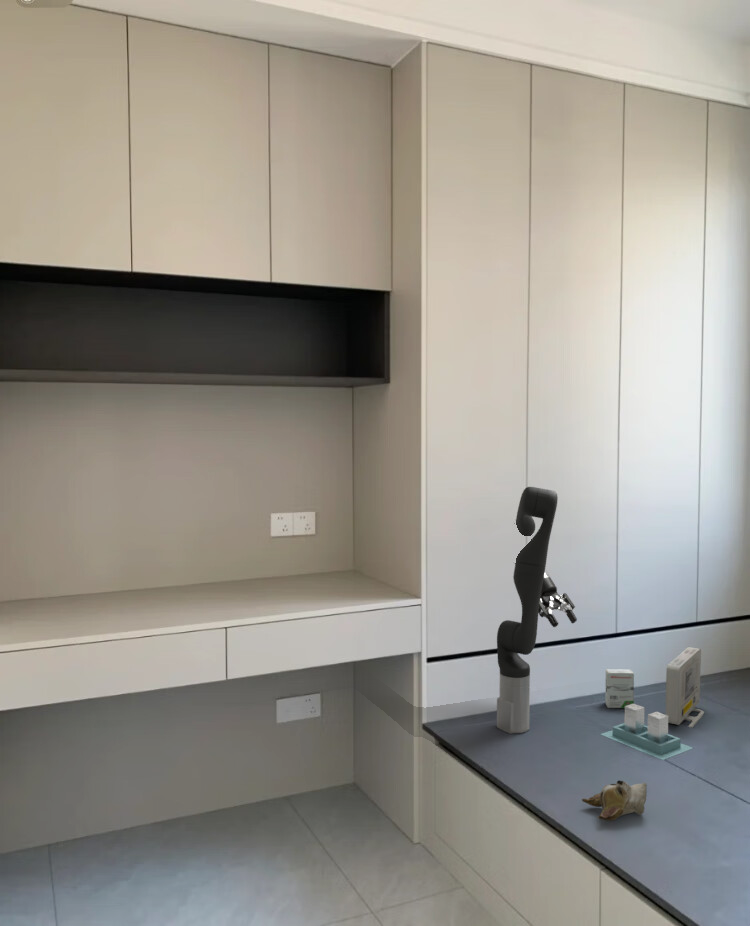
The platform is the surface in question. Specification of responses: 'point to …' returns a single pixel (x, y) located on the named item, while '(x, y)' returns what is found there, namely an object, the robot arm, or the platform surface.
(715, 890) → the platform surface
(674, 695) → the network device
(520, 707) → the robot arm
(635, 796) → the ceramic sculpture
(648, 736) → the block
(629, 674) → the ink box
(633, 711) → the block
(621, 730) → the teal flat tray
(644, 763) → the platform surface
